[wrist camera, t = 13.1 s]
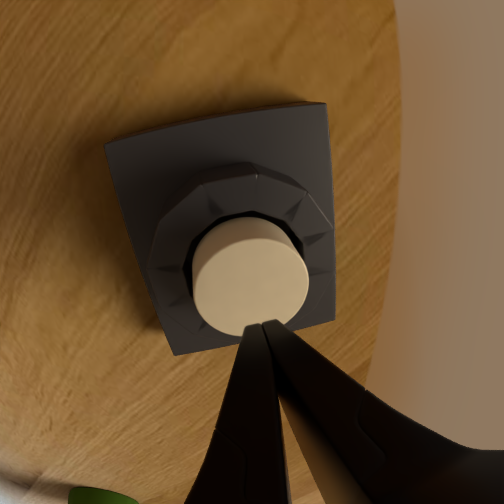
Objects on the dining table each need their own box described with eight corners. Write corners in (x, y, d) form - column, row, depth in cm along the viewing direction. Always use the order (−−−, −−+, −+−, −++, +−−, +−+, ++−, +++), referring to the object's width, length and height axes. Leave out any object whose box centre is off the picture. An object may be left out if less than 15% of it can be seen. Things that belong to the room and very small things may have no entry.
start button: (289, 206, 11) (306, 227, 9) (297, 294, 12) (311, 323, 11) (181, 228, 10) (179, 253, 9) (204, 315, 12) (207, 346, 11)
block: (310, 101, 12) (349, 105, 9) (324, 300, 17) (350, 344, 14) (113, 137, 11) (87, 153, 8) (174, 333, 16) (173, 385, 13)
